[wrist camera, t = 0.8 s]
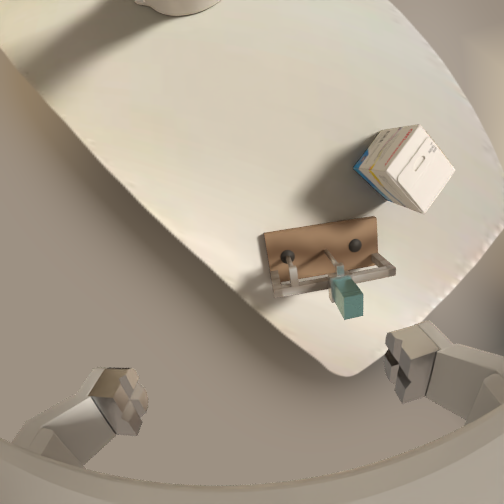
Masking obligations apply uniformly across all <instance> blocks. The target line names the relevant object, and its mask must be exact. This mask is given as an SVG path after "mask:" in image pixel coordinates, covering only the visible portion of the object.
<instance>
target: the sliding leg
mask: <svg viewBox="0 0 504 504" xmlns="http://www.w3.org/2000/svg"><path fill="white" fill-rule="evenodd" d="M324 253H325V255H326V256H327V257H328V259H329V260H330V261H331V263H332V264H333V265H334V267H335V273H329V274H328V287H329V298H330V300H331V302H332V303H334V302H335V303H336V305H337V307H338V309H339V311H340V312H341V314H342V316H343V318H344V320H345V319H350V318H355V317H359V316H363V293H362V292H361V290H360V289H359V288H358V286H357V285H356V284H355V282H354V281H353V280H352V273H351V272H350V271H349V270H346V271H344V264H343V263H342V262H341V263H338V262H337V261H336V260H335V258H334V257H333V256H332V255H331V253H330V252H329V251H328V250H327V249H325V250H324Z"/></svg>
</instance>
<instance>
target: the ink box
mask: <svg viewBox="0 0 504 504" xmlns="http://www.w3.org/2000/svg"><path fill="white" fill-rule="evenodd" d="M353 169H354V170H355V171H356V172H357V173H359V174H360V175H361V176H362V177H363V178H364V179H365V180H366V181H367V182H368V183H369V184H370V185H371V186H372V187H373V188H374V189H375V190H376V191H377V192H378V193H380V194H381V195H382V196H383V197H384V198H385V199H386V200H388V201H390V202H393V203H396V204H399V205H401V206H404V207H406V208H409V209H412V210H414V211H417V212H419V213H422V214H425V212H426V211H427V210H428V208H429V207H430V206H431V204H432V203H433V202H434V200H435V199H436V197H437V196H438V195H439V193H440V192H441V190H442V189H443V188H444V186H445V185H446V183H447V182H448V180H449V179H450V177H451V176H452V175H453V173H454V172H455V169H454V167H453V166H452V164H451V163H450V161H449V160H448V158H447V157H446V156H445V154H444V153H443V152H442V150H441V149H440V148H439V146H438V145H437V144H436V143H435V141H434V140H433V139H432V138H431V137H430V135H429V134H428V133H427V132H426V131H425V129H424V128H423V127H422V126H421V125H420V124H418V125H411V126H405V127H398V128H392V129H386V130H381V131H380V133H379V134H378V135H377V136H376V138H375V139H374V141H373V142H372V143H371V145H370V146H369V147H368V149H367V150H366V151H365V153H364V154H363V155H362V157H361V158H360V160H359V161H358V162H357V163H356V165H355V166H354V167H353Z"/></svg>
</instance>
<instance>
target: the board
mask: <svg viewBox="0 0 504 504" xmlns="http://www.w3.org/2000/svg"><path fill="white" fill-rule="evenodd" d="M264 236H265V242H266V249H267V255H268V261H269V267H270V274H271V280H272V286H273V292H274V298H278V297H284V296H290V295H296V294H302V293H308V292H313V291H319V290H324V289H329V287H328V277H326V278H320V279H314V280H309V281H303V282H298V279H301V278H307V277H313V276H319V275H324V274H329V273H335V267H334V265H333V264H332V263H331V261H330V260H329V259H328V257H327V256H326V255H325V253H324V250H325V249H327V250H328V251H329V252H330V253H331V255H332V256H333V257H334V258H335V260H336V261H337V262H338V263H341V262H342V263H343V264H344V271H346V270H352V269H357V268H363V267H368V266H373V265H377V266H378V267H379V268H374V269H369V270H363V271H358V272H353V273H352V280H353V281H354V282H355V284H356V283H361V282H366V281H371V280H376V279H381V278H385V277H390V276H395V275H396V268H395V267H394V266H393V265H392V264H391V263H390V262H388V261H387V260H386V259H385V258H384V257H382V256H381V255H380V254H379V253H378V242H377V219H376V217H374V216H371V217H364V218H357V219H351V220H344V221H337V222H331V223H324V224H318V225H311V226H305V227H298V228H292V229H286V230H279V231H273V232H267V233H264ZM289 280H290V283H291V284H285V285H281V282H283V281H289Z"/></svg>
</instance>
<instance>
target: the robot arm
mask: <svg viewBox="0 0 504 504" xmlns="http://www.w3.org/2000/svg"><path fill="white" fill-rule="evenodd" d="M134 1H135V3H136V4H139V5H146V6H150V7H151V8H153V9H154V10H156V11H157V12H159V13H162V14H166V15H172V16H182V15H189V14H194V13H197V12H200V11H203V10H205V9H208V8H210V7H211V6H213V5H215V4H216V3H218V2H219V1H220V0H134ZM385 344H386V345H387V347H388V350H387V352H386V353H385V355H384V367H385V372H386V375H387V378H388V379H389V381H390V382H392V383H394V384H396V385H395V392H396V394H397V396H398V397H399V399H400V401H401V402H402V404H404V403H407V402H410V401H413V400H416V399H419V398H422V397H424V396H426V398H428V399H430V400H431V401H433V402H435V403H436V404H438V405H440V406H442V407H443V408H445V409H447V410H449V411H451V412H452V413H454V414H456V415H458V416H460V417H461V418H463V419H465V420H466V422H465V425H464V426H463V427H461V428H460V429H457V430H455V431H454V432H451V433H449V434H447V435H445V436H443V437H441V438H438V439H436V440H434V441H432V442H429V443H427V444H425V445H423V446H420V447H417V448H415V449H412V450H410V451H407V452H404V453H401V454H399V455H396V456H393V457H390V458H387V459H384V460H381V461H378V462H374V463H371V464H368V465H364V466H360V467H357V468H353V469H349V470H345V471H341V472H336V473H332V474H327V475H322V476H316V477H311V478H305V479H299V480H292V481H284V482H276V483H265V484H253V485H229V486H227V485H226V486H206V485H184V484H183V485H182V484H170V483H160V482H152V481H144V480H137V479H131V478H125V477H120V476H114V475H109V474H105V473H100V472H96V471H92V470H88V469H86V468H85V467H84V466H83V465H84V464H86V463H87V462H88V461H89V460H90V459H91V458H92V457H93V456H94V455H96V454H97V453H98V452H99V451H100V450H101V449H102V448H103V447H104V446H105V445H107V444H108V443H109V442H110V441H111V440H112V439H113V438H114V437H115V436H116V434H117V435H130V436H137V435H138V433H139V430H140V427H141V425H142V420H141V418H140V417H141V416H143V415H144V414H145V413H146V411H147V409H148V395H147V392H146V390H145V388H144V387H143V386H142V385H141V384H139V383H138V380H139V376H138V374H137V372H136V370H135V369H133V368H111V367H109V368H106V367H97V368H94V369H93V370H92V372H91V373H90V375H89V376H88V378H87V379H86V380H85V382H84V383H83V385H82V386H81V388H80V389H79V391H78V392H77V394H76V395H71V396H69V397H68V398H66V399H64V400H62V401H61V402H59V403H57V404H56V405H54V406H52V407H50V408H49V409H47V410H45V411H44V412H42V413H40V414H38V415H37V416H35V417H33V418H31V419H29V420H28V421H26V422H25V424H24V425H23V426H22V428H21V429H20V431H19V432H18V434H17V435H16V437H15V438H14V439H13V441H12V442H8V441H6V440H4V439H2V438H0V504H504V356H500V355H496V354H492V353H489V352H486V351H482V350H478V349H475V348H472V347H468V346H464V345H461V344H455V345H454V344H453V343H452V342H451V341H450V340H449V339H448V338H447V337H446V336H445V335H444V334H443V333H442V332H441V331H440V330H439V329H438V328H437V327H436V326H435V325H434V324H433V323H432V322H431V321H428V320H427V321H424V322H421V323H418V324H415V325H413V326H410V327H406V328H403V329H400V330H396V331H392V332H389V333H387V336H386V342H385Z"/></svg>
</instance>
